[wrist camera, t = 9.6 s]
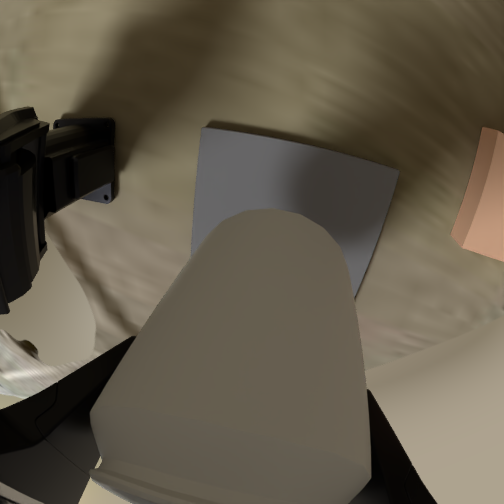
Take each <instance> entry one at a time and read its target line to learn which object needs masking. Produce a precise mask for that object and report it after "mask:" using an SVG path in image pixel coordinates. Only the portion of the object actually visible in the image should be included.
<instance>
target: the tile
mask: <svg viewBox="0 0 504 504" xmlns="http://www.w3.org/2000/svg"><path fill="white" fill-rule="evenodd" d="M450 235H451V236H452V237H453V238H454V239H455V241H456V242H457V243H458V244H459V245H460V246H461V247H462V248H464V249H467V250H470V251H473V252H476V253H479V254H482V255H485V256H488V257H491V258H494V259H497V260H500V261H503V262H504V134H503V133H502V132H500V131H498V130H494V129H490V128H486V127H482V131H481V136H480V140H479V145H478V149H477V153H476V157H475V161H474V165H473V168H472V172H471V176H470V179H469V182H468V186H467V189H466V192H465V195H464V198H463V201H462V204H461V207H460V210H459V213H458V215H457V218H456V221H455V224H454V226H453V229H452V231H451V234H450Z"/></svg>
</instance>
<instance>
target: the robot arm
mask: <svg viewBox="0 0 504 504" xmlns="http://www.w3.org/2000/svg"><path fill="white" fill-rule="evenodd" d="M107 122H108V123H109V127H107ZM49 124H50V123H47V122H43V121H39V120H38V117H37V116H36V113H35V111H34V108H33V107H23V108H18V109H14V110H10V111H7V112H4V113H2V114H0V314H8V313H9V312H10V309H9V306H8V303H10V302H12V301H14V300H16V299H18V298H19V297H21V296H23V295H24V294H25V293H26V292H27V291H29V289H31V287H32V283H31V282H32V281H33V279H34V278H35V276H36V274H37V272H38V270H39V265H40V260H41V258H42V257H43V255H44V254H45V252H46V251H47V242H46V241H45V228H44V220H45V219H46V218H48V217H49V216H51V215H53V214H54V213H56V212H58V211H60V210H61V209H63V208H65V207H66V206H68V205H70V204H72V203H74V202H75V201H77V200H79V199H85V200H90V201H95V202H100V203H105V204H109V203H110V202H112V201H113V200H114V133H115V121H114V119H112V118H69V119H58V120H55V122H54V125H53V130H49ZM58 124H59V126H58ZM107 195H108V197H109V199H108V198H107ZM136 337H137V336H131V337H129V338H128V339H126V340H125V341H123V342H121V343H120V344H118V345H116V346H115V347H113V348H112V349H110V350H108V351H107V352H105V353H103V354H102V355H100V356H99V357H97V358H95V359H94V360H92V361H90V362H89V363H87V364H86V365H84V366H82V367H81V368H79V369H77V370H76V371H74V372H73V373H71V374H69V375H68V376H66V377H64V378H63V379H61V380H59V381H58V383H57V382H56V383H54V384H53V385H51V386H49V387H48V388H46V389H44V390H42V391H41V392H39V393H37V394H35V395H33V396H31V397H29V398H26V399H24V400H22V401H20V402H17V403H15V404H13V405H11V406H9V407H6V408H3V409H0V504H78V503H79V501H80V498H81V496H82V494H83V492H84V490H85V488H86V485H87V483H88V481H89V479H90V474H89V471H90V469H94V468H95V466H96V464H97V462H98V460H99V458H100V453H99V450H98V447H97V444H96V440H95V437H94V434H93V430H92V427H91V421H90V411H91V409H92V408H93V406H94V404H95V402H96V401H97V399H98V397H99V396H100V394H101V392H102V391H103V389H104V388H105V386H106V384H107V383H108V381H109V379H110V378H111V376H112V375H113V373H114V371H115V370H116V368H117V367H118V365H119V363H120V362H121V360H122V359H123V357H124V355H125V354H126V352H127V351H128V349H129V348H130V346H131V345H132V343H133V341H134V340H135V338H136ZM367 398H368V410H369V425H370V444H371V479H370V480H369V482H368V483H367V484H366V485H365V487H364V488H363V489H362V490H361V491H360V492H359V493H358V494H357V495H356V496H355V497H354V498H353V499H352V500H351V501H350V502H349V503H348V504H437V502H436V501H435V500H434V498H433V497H432V495H431V494H430V493H429V491H428V489H427V488H426V486H425V485H424V484H423V482H422V481H421V479H420V477H419V475H418V473H417V472H416V470H415V468H414V466H413V465H412V463H411V461H410V459H409V457H408V456H407V454H406V452H405V450H404V449H403V447H402V445H401V443H400V441H399V440H398V438H397V436H396V434H395V433H394V431H393V429H392V427H391V426H390V424H389V422H388V420H387V419H386V417H385V415H384V414H383V412H382V410H381V408H380V407H379V405H378V403H377V401H376V400H375V398H374V396H373V395H372V393H371V391H370V390H368V389H367Z"/></svg>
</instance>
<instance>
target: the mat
mask: <svg viewBox="0 0 504 504" xmlns="http://www.w3.org/2000/svg"><path fill="white" fill-rule="evenodd" d="M399 173H400V171H399V170H397V169H395V168H392V167H389V166H385V165H382V164H379V163H376V162H373V161H369V160H366V159H362V158H359V157H355V156H352V155H348V154H344V153H341V152H337V151H333V150H329V149H325V148H321V147H317V146H312V145H308V144H304V143H299V142H294V141H290V140H285V139H280V138H274V137H269V136H264V135H258V134H252V133H246V132H240V131H233V130H226V129H218V128H211V127H202V129H201V138H200V147H199V156H198V166H197V176H196V187H195V199H194V212H193V227H192V243H191V256H192V255H193V254H194V252H195V251H196V249H197V248H198V247H199V245H200V244H201V242H202V241H203V240H204V238H205V237H206V236H207V235H208V234H209V233H210V232H211V231H212V230H213V229H214V228H215V227H216V226H217V225H218V224H219V223H220V222H222V221H223V220H225V219H227V218H229V217H232V216H234V215H236V214H239V213H241V212H243V211H246V210H257V209H268V208H275V209H279V210H284V211H288V212H293V213H297V214H301V215H303V216H304V217H306V218H308V219H309V220H311V221H313V222H315V223H316V224H318V225H320V226H321V227H323V228H324V229H325V230H326V231H327V232H328V233H329V234H330V236H331V237H332V238H333V239H334V240H335V241H336V242H337V244H338V245H339V246H340V247H341V250H342V253H343V255H344V258H345V261H346V263H347V266H348V270H349V275H350V280H351V285H352V290H353V296H354V298H355V295H356V293H357V291H358V288H359V286H360V284H361V281H362V279H363V276H364V274H365V272H366V269H367V267H368V264H369V261H370V259H371V256H372V254H373V251H374V249H375V246H376V243H377V240H378V238H379V235H380V232H381V229H382V227H383V224H384V221H385V218H386V215H387V212H388V209H389V206H390V203H391V200H392V196H393V193H394V190H395V187H396V183H397V180H398V177H399Z"/></svg>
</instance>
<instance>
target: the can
mask: <svg viewBox="0 0 504 504" xmlns="http://www.w3.org/2000/svg"><path fill="white" fill-rule="evenodd" d="M90 421H91V427H92V430H93V434H94V437H95V440H96V444H97V447H98V450H99V453H100V456H101V458H102V463H101V464H100V466H99V468H96V469H90V471H89V474H90V476H91V478H92V481H94V482H95V483H96V484H98V485H99V486H101V487H102V488H104V489H106V490H107V491H109V492H111V493H113V494H114V495H116V496H118V497H120V498H122V499H124V500H126V501H128V502H130V503H132V504H348V503H349V502H350V501H351V500H352V499H353V498H354V497H355V496H356V495H357V494H358V493H359V492H360V491H361V490H362V489H363V488H364V487H365V485H366V484H367V483H368V482H369V480H370V479H371V444H370V425H369V410H368V398H367V388H366V378H365V369H364V361H363V353H362V346H361V338H360V332H359V325H358V319H357V313H356V307H355V301H354V296H353V290H352V285H351V280H350V275H349V270H348V266H347V263H346V261H345V258H344V255H343V253H342V250H341V247H340V246H339V245H338V244H337V242H336V241H335V240H334V239H333V238H332V237H331V236H330V234H329V233H328V232H327V231H326V230H325V229H324V228H323V227H321V226H320V225H318V224H316V223H315V222H313V221H311V220H309V219H308V218H306V217H304V216H303V215H301V214H297V213H293V212H288V211H284V210H279V209H275V208H268V209H257V210H246V211H243V212H241V213H239V214H236V215H234V216H232V217H229V218H227V219H225V220H223V221H222V222H220V223H219V224H218V225H217V226H216V227H215V228H214V229H213V230H212V231H211V232H210V233H209V234H208V235H207V236H206V237H205V238H204V240H203V241H202V242H201V244H200V245H199V247H198V248H197V249H196V251H195V252H194V254H193V255H192V256H191V258H190V259H189V261H188V262H187V263H186V265H185V266H184V268H183V269H182V270H181V272H180V273H179V275H178V276H177V278H176V279H175V280H174V282H173V283H172V285H171V286H170V288H169V289H168V291H167V292H166V293H165V295H164V296H163V298H162V299H161V301H160V302H159V304H158V305H157V307H156V308H155V310H154V311H153V313H152V314H151V316H150V317H149V319H148V320H147V322H146V323H145V325H144V326H143V328H142V329H141V331H140V332H139V334H138V335H137V337H136V338H135V340H134V341H133V343H132V345H131V346H130V348H129V349H128V351H127V352H126V354H125V355H124V357H123V359H122V360H121V362H120V363H119V365H118V367H117V368H116V370H115V371H114V373H113V375H112V376H111V378H110V379H109V381H108V383H107V384H106V386H105V388H104V389H103V391H102V392H101V394H100V396H99V397H98V399H97V401H96V402H95V404H94V406H93V408H92V409H91V411H90Z"/></svg>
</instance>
